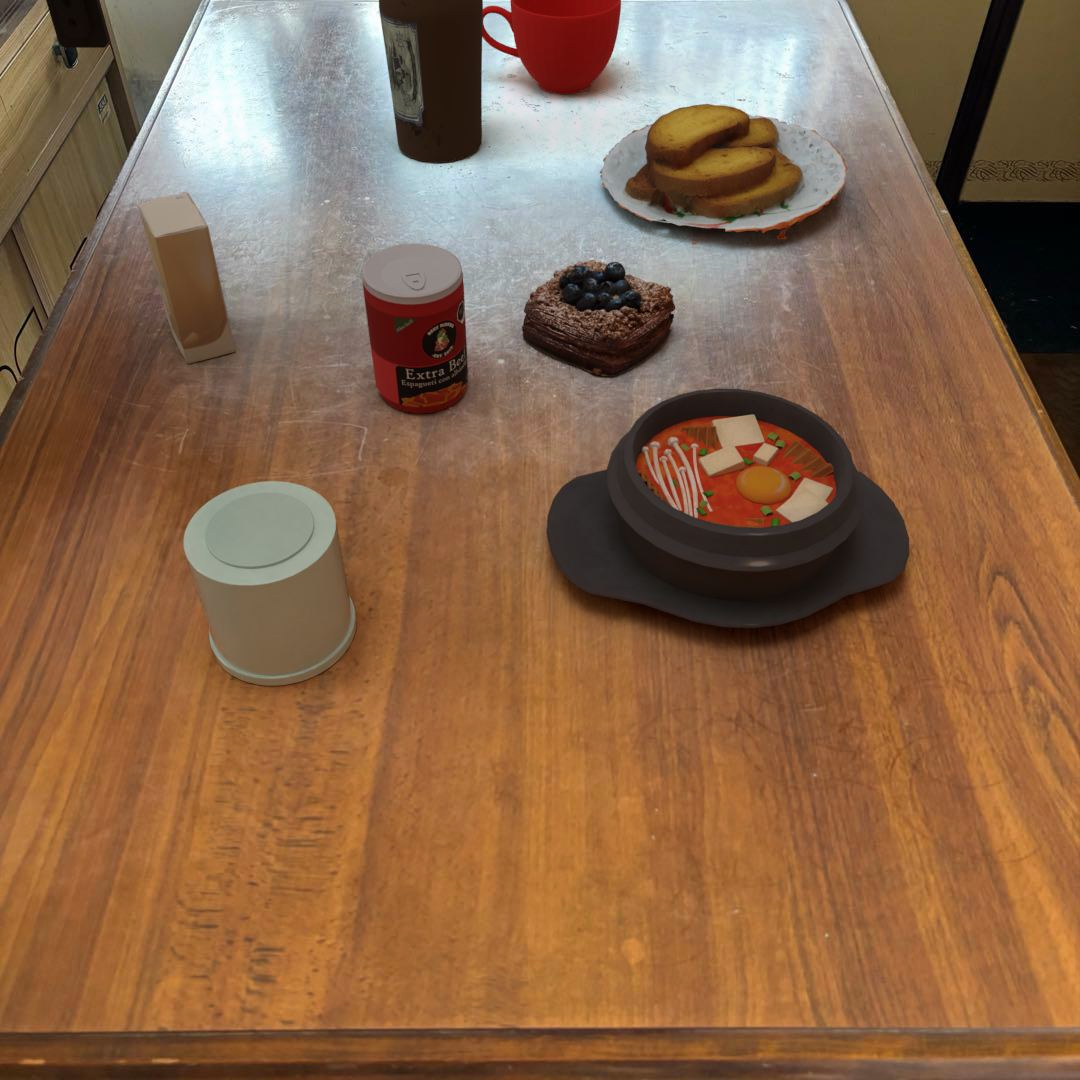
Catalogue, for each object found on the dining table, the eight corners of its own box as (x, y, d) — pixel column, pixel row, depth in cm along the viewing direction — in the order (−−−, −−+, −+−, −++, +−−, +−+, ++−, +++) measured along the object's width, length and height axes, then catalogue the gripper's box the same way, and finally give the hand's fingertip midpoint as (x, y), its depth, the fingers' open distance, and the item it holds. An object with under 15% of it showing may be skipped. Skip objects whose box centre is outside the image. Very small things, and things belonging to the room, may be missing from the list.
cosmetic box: (169, 329, 97) (133, 200, 89) (217, 316, 99) (187, 188, 90) (187, 367, 93) (152, 236, 84) (238, 353, 94) (208, 223, 86)
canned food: (404, 427, 87) (391, 307, 80) (359, 377, 92) (342, 260, 84) (487, 395, 90) (482, 277, 83) (438, 348, 95) (430, 232, 87)
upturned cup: (192, 681, 69) (157, 580, 63) (233, 573, 76) (205, 472, 69) (340, 690, 69) (320, 589, 62) (368, 581, 75) (352, 480, 69)
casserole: (555, 655, 71) (556, 564, 65) (538, 466, 84) (539, 376, 78) (938, 639, 72) (974, 547, 66) (862, 455, 85) (886, 365, 79)
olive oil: (455, 116, 129) (442, -127, 111) (505, 149, 123) (500, -103, 105) (375, 139, 124) (348, -111, 107) (423, 175, 118) (403, -84, 101)
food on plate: (840, 260, 106) (854, 197, 101) (584, 237, 109) (585, 174, 104) (839, 144, 123) (850, 85, 119) (618, 127, 127) (621, 69, 122)
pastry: (617, 387, 91) (620, 327, 87) (503, 337, 96) (501, 278, 92) (687, 328, 97) (693, 269, 93) (577, 284, 103) (578, 226, 98)
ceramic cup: (483, 61, 141) (480, -23, 134) (616, 63, 140) (620, -21, 133) (475, 103, 131) (471, 16, 124) (617, 106, 131) (622, 18, 124)
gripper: (12, -315, 70) (89, -24, 82) (-104, -266, 57) (8, 68, 69) (130, -315, 70) (191, -24, 81) (41, -266, 57) (127, 69, 69)
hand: (107, 18), depth 75 cm, fingers open, 9 cm apart
